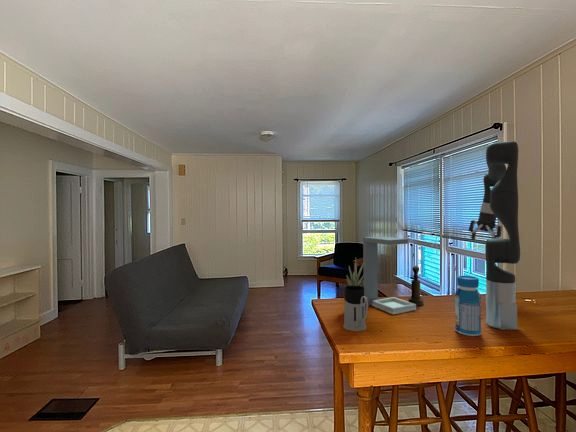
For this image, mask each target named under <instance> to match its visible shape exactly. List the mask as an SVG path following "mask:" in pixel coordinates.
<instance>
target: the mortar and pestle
mask: <svg viewBox="0 0 576 432" xmlns="http://www.w3.org/2000/svg"><path fill="white" fill-rule="evenodd" d="M412 271H413V274H412V275H413V279H411V296H410V297H409V298H408V302H411V303H414V304H416V306H423V305H425V304H424V298H423V297H421V280H420V279H419V275H418V273H419V271H420V267H419V266H418V265H414V266H412Z"/></svg>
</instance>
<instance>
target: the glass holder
mask: <svg viewBox="0 0 576 432" xmlns="http://www.w3.org/2000/svg"><path fill="white" fill-rule="evenodd" d="M344 287H345V288H344V296H343V297H344V299H343V301H344V302H343V305H344V306H343V307H344V308H343V309H344V311H343V314H344V315H343V318H344V319H343V320H344V322H343V326H342V327H343V328H344V329H345V330H347V331H350V330H351V331H350V332H361V331H362V330H363V331H365V330H367V325H366V318H367V316H368V311H369V305H368V300H367V298H366V297H365V296H364V286H348V285H347V286H346V285H345V286H344ZM365 300H366V305H365ZM363 331H362V332H363Z"/></svg>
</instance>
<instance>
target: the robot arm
mask: <svg viewBox="0 0 576 432" xmlns="http://www.w3.org/2000/svg"><path fill="white" fill-rule="evenodd" d="M485 159H486V160H485V161H486V166H487V168H488V172H486V173H485V174H484V176H483V179H482V180H483V188H484V189H483V191H484V195H483V197H482V198H483V199H482V203H481V206H480V210H479V215H478V220H471V221H470V223H469V228H468V232H471V236H470V237H471V238H470V239H471V241H475V240H476V237H477V232H479V231H483V232H487V233H489V234H490V236H491V238H488V239H486V241H485V244H484V245H485V246H484V250H485V251H484V253H485V264H486V265H485V271H486V272H485V320H486V321H485V322H486V323H485V324H486V325H487V326H489V327H492V328H495V329H499V330H503V331H505V330H508V331H511V330H512V331H513V330H514V331H515V330H518V304H517V303H516V275H515V274H514V273H512V272H510V271H508V270H504V269H503V268H500V267H499V266H498V265H497V264H509V265H510V264H511V265H515V264H519V261H520V259H521V245H520V233H519V188H518V187H519V186H518V185H519V184H518V169H519V167H518V165H519V145H518V142H516V141H513V140H511V141H499V142H492V143H488V145H487V146H486V151H485ZM506 165H507V166H506ZM491 187H492V188H491ZM496 220H499V222H500V223H501V225H496V222H497V221H496ZM475 225H477V227H476V228H475ZM502 225H503V226H502ZM503 227H504V229H505V231H506V233H507V235H508V238H501V235H502V230H503ZM494 228H495V230H497V231H496V233H495V231H494Z"/></svg>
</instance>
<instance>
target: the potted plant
mask: <svg viewBox="0 0 576 432" xmlns="http://www.w3.org/2000/svg"><path fill="white" fill-rule="evenodd" d="M354 262H355V263H354V271H352V270H351V266H348V271H349V274H350V275H349V276H350V277H349V276H348V275H346V278H345V280H346V282H347V283H345V284H344V286H343V288H344V289H345V287H346V286H361V287H363V286H364V274H363V275H362V276H361V273H362V270H363V265H364V262H362V264H361V265H360V268H359V271H358V273H357V258H355V261H354ZM360 276H361V277H360ZM359 278H360V279H359ZM347 284H348V285H347ZM365 297H366V296H365ZM366 298H367V297H366ZM365 303H366V300H365Z"/></svg>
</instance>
